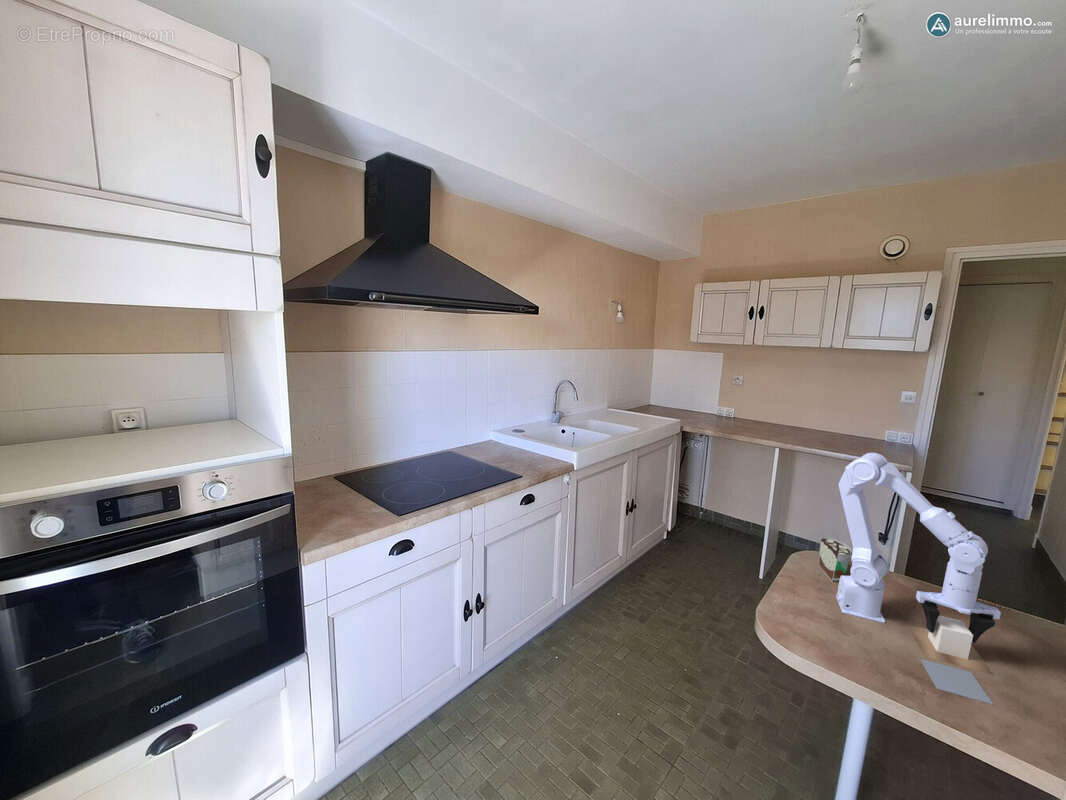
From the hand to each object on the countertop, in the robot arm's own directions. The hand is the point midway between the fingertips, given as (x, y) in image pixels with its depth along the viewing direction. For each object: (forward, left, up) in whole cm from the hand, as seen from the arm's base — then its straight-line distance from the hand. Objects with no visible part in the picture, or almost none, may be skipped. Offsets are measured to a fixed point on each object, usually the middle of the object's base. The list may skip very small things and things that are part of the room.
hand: (950, 634), depth 102 cm
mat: (-3, -12, -4) cm, 13 cm away
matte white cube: (0, 0, -4) cm, 4 cm away
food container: (-18, +25, -4) cm, 31 cm away
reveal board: (0, 0, -4) cm, 4 cm away
